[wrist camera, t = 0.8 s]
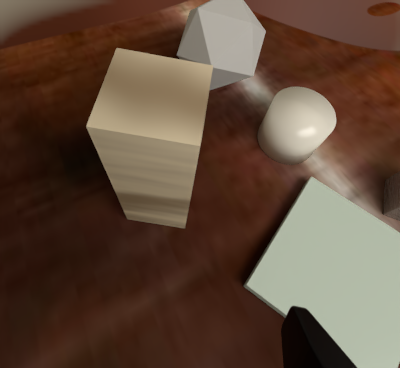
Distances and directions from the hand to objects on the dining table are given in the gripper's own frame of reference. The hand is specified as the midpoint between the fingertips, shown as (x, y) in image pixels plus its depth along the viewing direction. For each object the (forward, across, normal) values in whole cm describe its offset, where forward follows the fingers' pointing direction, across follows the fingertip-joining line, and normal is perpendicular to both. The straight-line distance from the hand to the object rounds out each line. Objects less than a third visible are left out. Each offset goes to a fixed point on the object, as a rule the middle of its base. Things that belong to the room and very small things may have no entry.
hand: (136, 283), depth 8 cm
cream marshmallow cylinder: (+23, -9, 0) cm, 25 cm away
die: (+29, -1, -5) cm, 29 cm away
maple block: (+16, +2, +6) cm, 17 cm away
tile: (+14, -14, +8) cm, 21 cm away
